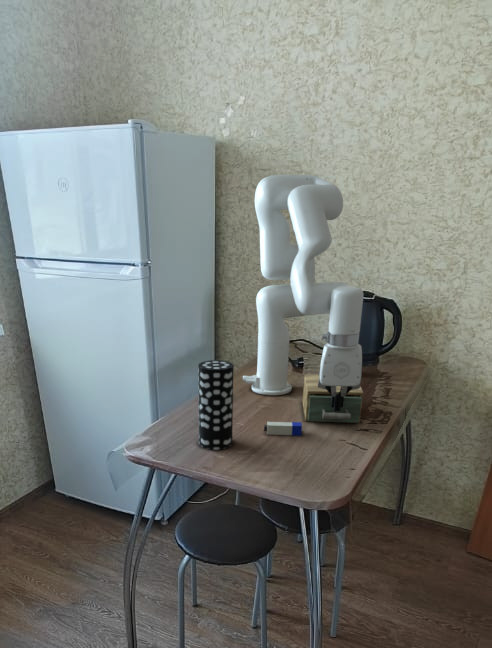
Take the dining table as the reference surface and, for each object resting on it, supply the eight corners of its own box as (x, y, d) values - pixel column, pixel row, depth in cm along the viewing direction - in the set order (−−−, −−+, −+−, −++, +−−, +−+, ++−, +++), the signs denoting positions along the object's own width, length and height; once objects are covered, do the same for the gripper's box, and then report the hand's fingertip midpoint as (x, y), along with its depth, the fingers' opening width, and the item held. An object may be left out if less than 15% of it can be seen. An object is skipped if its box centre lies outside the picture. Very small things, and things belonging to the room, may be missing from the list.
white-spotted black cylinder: (230, 436, 148) (232, 359, 139) (233, 449, 141) (234, 369, 132) (198, 436, 148) (197, 360, 139) (199, 450, 140) (198, 370, 131)
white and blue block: (263, 434, 149) (264, 424, 148) (263, 430, 152) (264, 421, 150) (301, 435, 148) (301, 426, 147) (300, 431, 151) (301, 422, 149)
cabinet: (359, 422, 156) (363, 392, 152) (305, 421, 157) (307, 390, 154) (352, 403, 170) (355, 375, 166) (302, 402, 171) (304, 374, 167)
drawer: (361, 430, 149) (364, 405, 146) (309, 428, 150) (311, 403, 147) (352, 404, 167) (354, 381, 164) (305, 403, 168) (307, 380, 165)
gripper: (313, 342, 140) (308, 414, 148) (376, 343, 138) (367, 415, 146) (311, 335, 146) (306, 404, 154) (371, 336, 145) (363, 405, 153)
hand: (336, 409), depth 150 cm, fingers closed
